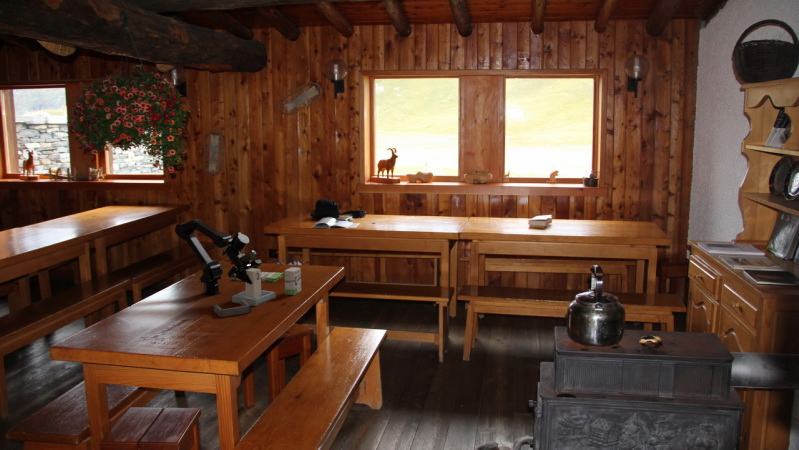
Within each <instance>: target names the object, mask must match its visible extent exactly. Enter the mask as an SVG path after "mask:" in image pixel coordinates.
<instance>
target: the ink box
mask: <svg viewBox="0 0 799 450" xmlns="http://www.w3.org/2000/svg"><path fill="white" fill-rule="evenodd" d="M284 273H285V275H284V292H285V293H284V295H288V296H289V295H290V296H295V295H297V294H298V293H300V292H301V291H302V269H301V267H295V266H294V267H293V266H291V267H290V268H286V269H285V270H284Z"/></svg>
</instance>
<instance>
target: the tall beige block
mask: <svg viewBox="0 0 799 450" xmlns="http://www.w3.org/2000/svg"><path fill="white" fill-rule="evenodd" d="M261 269H262V268H261ZM261 269H260V268H257V269H255V268H251V269H248V270H246V274H247V275H248V277H249V278H250V280H251V281H252V284H249V283H247V282H245V281H244V283H245V291H246V297H251V298H256V297H258V296H261V290H262V282H261V272H262V270H261Z"/></svg>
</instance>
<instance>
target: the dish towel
mask: <svg viewBox="0 0 799 450" xmlns="http://www.w3.org/2000/svg"><path fill="white" fill-rule="evenodd" d="M234 275H235V276H234V277H233V278H232V280H233V281H239V282H244V281H243V280H240V279H238V278H235V277H236V274H234ZM283 277H285V272H269V271H268V272H266V271H261V283H274V282H277V281H279V280H280V279H281V278H283ZM279 278H280V279H279Z"/></svg>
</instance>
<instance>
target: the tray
mask: <svg viewBox="0 0 799 450" xmlns="http://www.w3.org/2000/svg"><path fill="white" fill-rule="evenodd" d="M275 299H276V291H270V290H265V289H261V296H258V297H256V298H251V297H246V290H244V291H240V292H239V293H236V294H234V295H232V296H231V302H232V303H236V304H240V305H241V300H244V301H245V302H247V303H248V304H249V305H251V306H254V307H257V306H261V305H263V304H265V303H267V302H270V301H272V300H275Z"/></svg>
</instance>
